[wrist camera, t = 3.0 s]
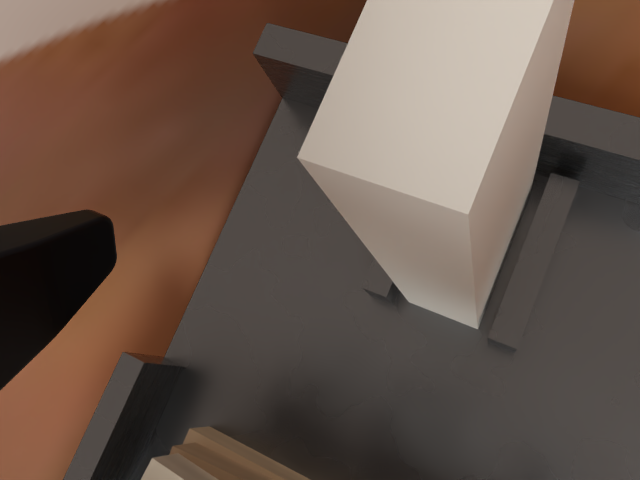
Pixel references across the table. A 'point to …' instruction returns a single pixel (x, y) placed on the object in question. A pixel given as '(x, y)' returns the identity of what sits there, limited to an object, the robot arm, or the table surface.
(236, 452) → the offcut stack
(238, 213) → the rack
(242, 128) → the table surface
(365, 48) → the cream rectangular block
